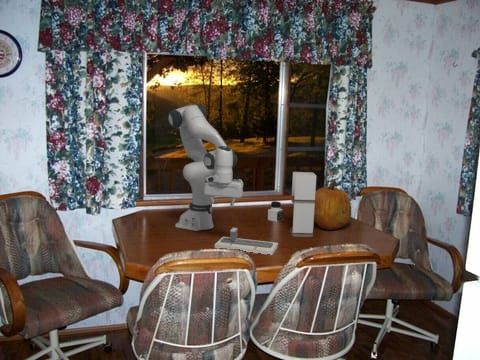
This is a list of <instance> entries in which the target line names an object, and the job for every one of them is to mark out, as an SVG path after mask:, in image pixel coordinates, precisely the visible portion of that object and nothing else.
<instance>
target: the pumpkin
mask: <svg viewBox="0 0 480 360" xmlns="http://www.w3.org/2000/svg"><path fill="white" fill-rule="evenodd" d="M335 184H336V178H334V179H332V180H331V182H330V183H329V186H328V187H321V188H320V187H319V189H317V190H315V206H314V223H315V224H316V225H317V226H318V227H319V228H321V229H323V230H327V231H331V230H338V229H340V228H342V227H344V226H346V225H347V224H348V223H349V222H350V221H351V218H352V203H351V200H350V197H349V196H348V194H347V193H346V192H345V191H344V190H342V189H340V188H337V187H335Z"/></svg>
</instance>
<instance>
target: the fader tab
mask: <svg viewBox="0 0 480 360" xmlns="http://www.w3.org/2000/svg"><path fill="white" fill-rule="evenodd" d="M238 229H239V228H238V227H232V228H231V229H230V233H229V234H230V236H229V237H230V240H229V241H236V242H238V239H237V238H238Z"/></svg>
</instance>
